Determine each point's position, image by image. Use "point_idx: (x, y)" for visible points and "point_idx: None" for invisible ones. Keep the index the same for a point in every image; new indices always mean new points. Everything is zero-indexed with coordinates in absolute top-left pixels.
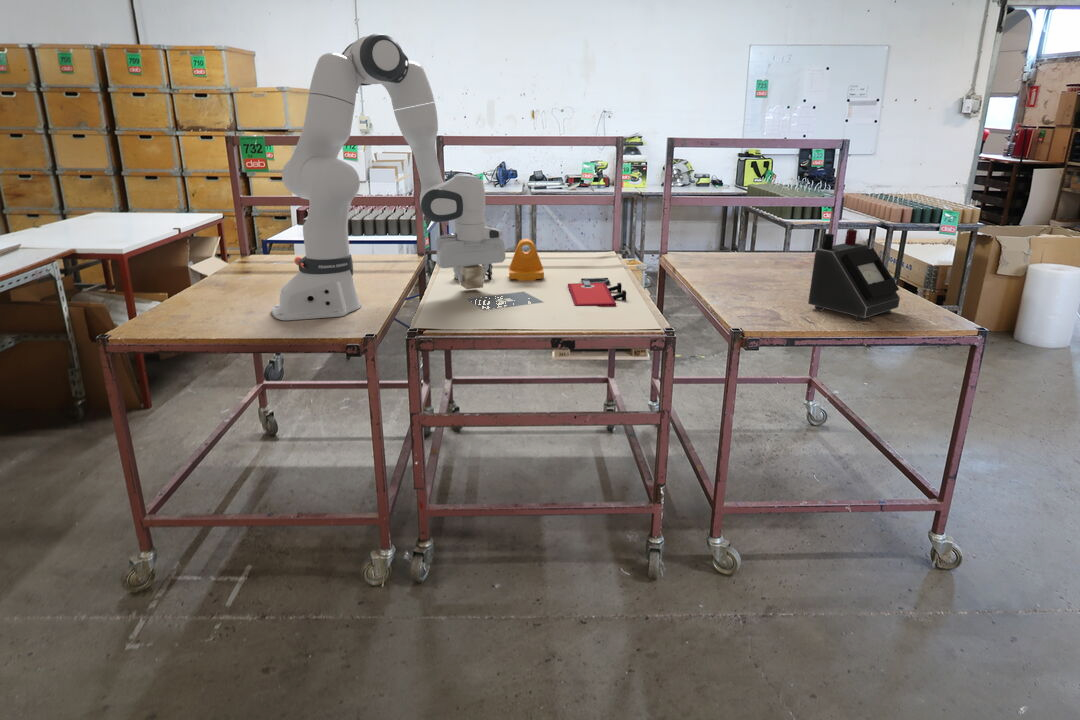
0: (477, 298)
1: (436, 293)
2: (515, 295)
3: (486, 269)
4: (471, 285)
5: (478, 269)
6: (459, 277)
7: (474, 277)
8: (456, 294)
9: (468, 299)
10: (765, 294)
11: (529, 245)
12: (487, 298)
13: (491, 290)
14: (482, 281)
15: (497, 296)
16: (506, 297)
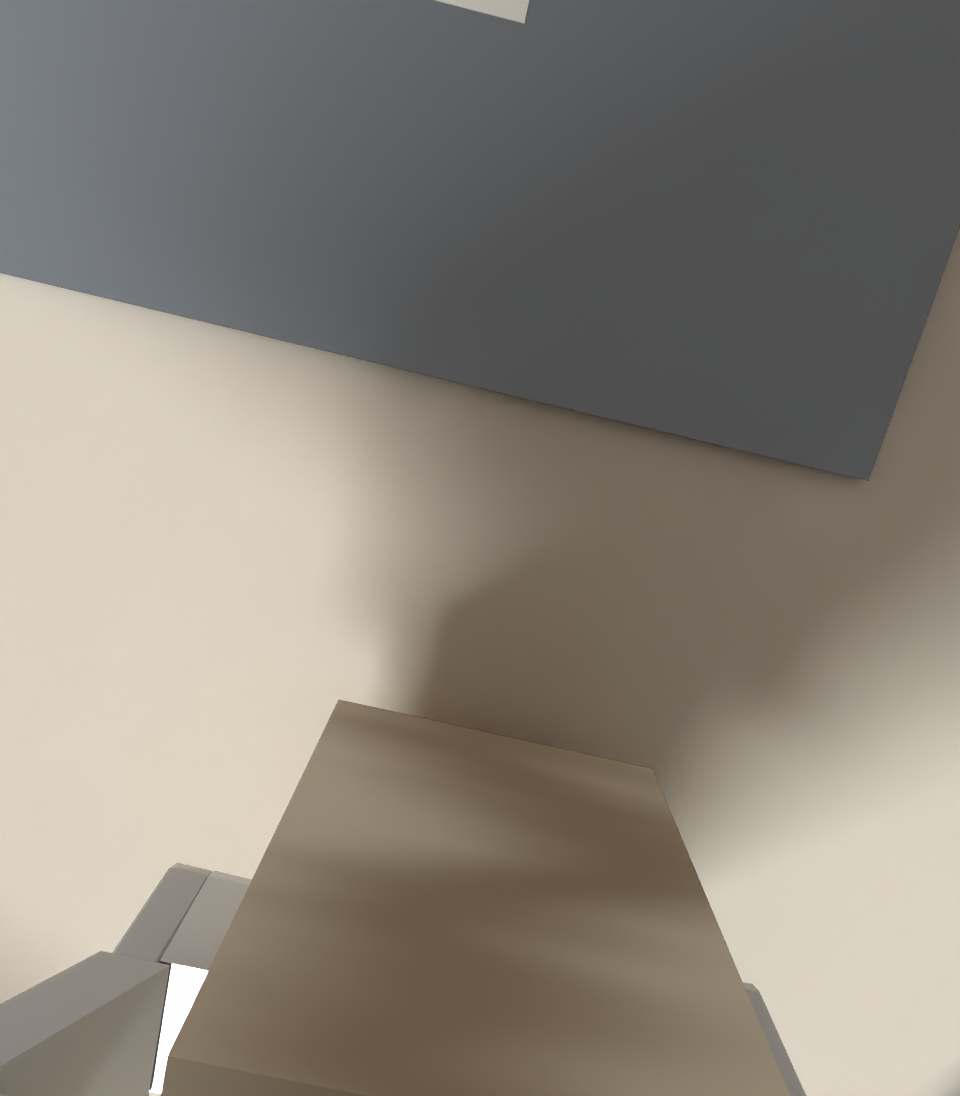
0: (708, 362)
1: (932, 1037)
2: (9, 58)
3: (12, 1033)
4: (577, 783)
5: (363, 1026)
6: None
7: (512, 876)
8: (758, 827)
9: (868, 411)
10: None
11: None
12: (572, 236)
13: (173, 686)
14: (327, 761)
15: (339, 235)
16: (240, 47)
